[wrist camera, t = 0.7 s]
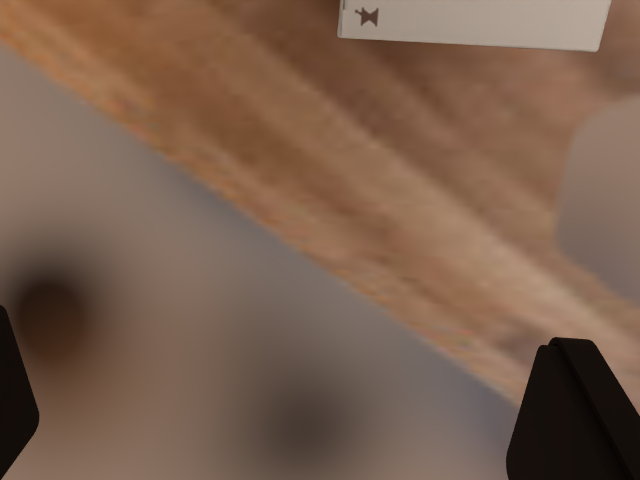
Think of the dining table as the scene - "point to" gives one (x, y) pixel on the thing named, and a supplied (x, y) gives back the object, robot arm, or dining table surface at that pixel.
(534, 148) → the dining table surface
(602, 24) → the supplement box
